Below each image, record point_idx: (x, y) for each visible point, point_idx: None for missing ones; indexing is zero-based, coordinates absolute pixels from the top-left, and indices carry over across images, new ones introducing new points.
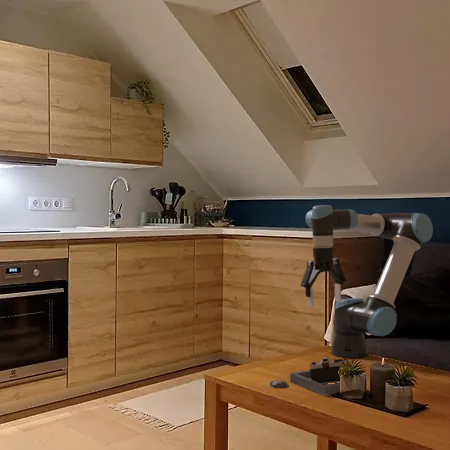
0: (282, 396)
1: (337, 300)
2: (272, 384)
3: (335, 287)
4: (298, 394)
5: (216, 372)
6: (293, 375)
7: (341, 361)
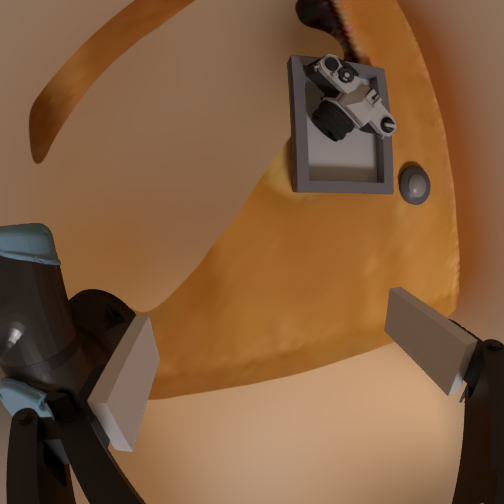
0: (436, 126)
1: (152, 339)
2: (429, 183)
3: (135, 419)
4: (410, 115)
5: None
6: (391, 180)
7: (340, 60)
